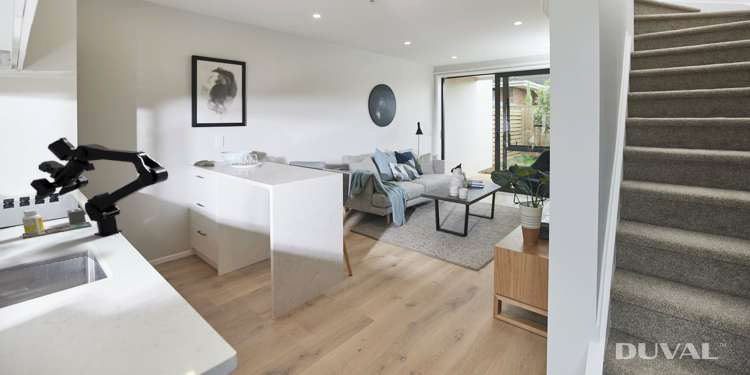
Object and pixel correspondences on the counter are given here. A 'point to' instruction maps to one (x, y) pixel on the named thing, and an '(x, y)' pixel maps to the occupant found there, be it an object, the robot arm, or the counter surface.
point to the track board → (62, 229)
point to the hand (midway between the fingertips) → (48, 197)
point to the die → (76, 216)
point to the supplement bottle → (32, 223)
